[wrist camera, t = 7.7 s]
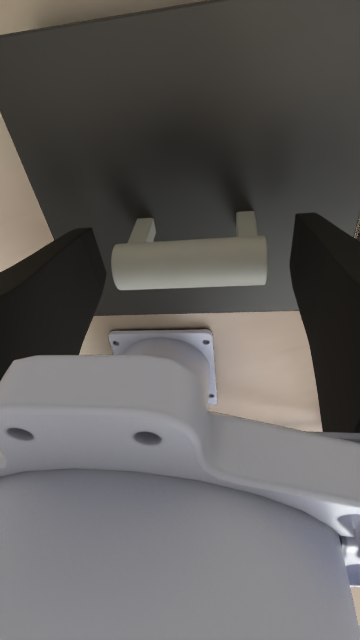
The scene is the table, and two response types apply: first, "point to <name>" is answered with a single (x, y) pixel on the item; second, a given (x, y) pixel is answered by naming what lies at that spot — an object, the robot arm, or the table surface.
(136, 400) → the robot arm
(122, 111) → the lid
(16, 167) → the table surface
